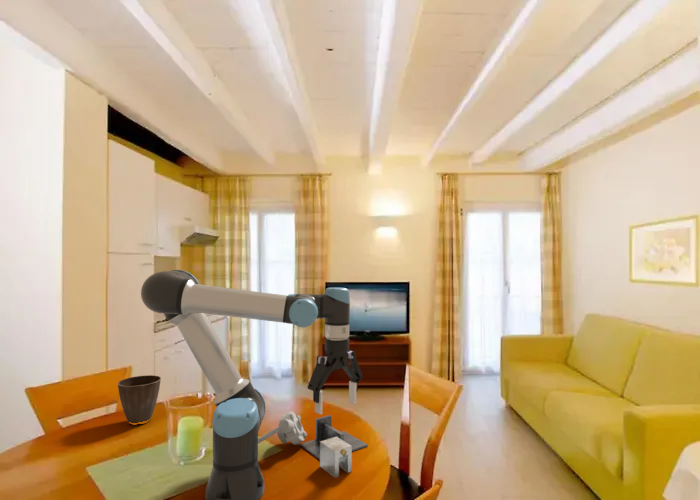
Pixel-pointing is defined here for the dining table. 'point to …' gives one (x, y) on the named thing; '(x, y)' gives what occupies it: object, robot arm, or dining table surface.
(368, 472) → the dining table surface
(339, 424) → the dining table surface
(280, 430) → the valve
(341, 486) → the dining table surface
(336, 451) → the hollow grey box
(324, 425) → the dark grey angled piece
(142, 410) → the plant pot
